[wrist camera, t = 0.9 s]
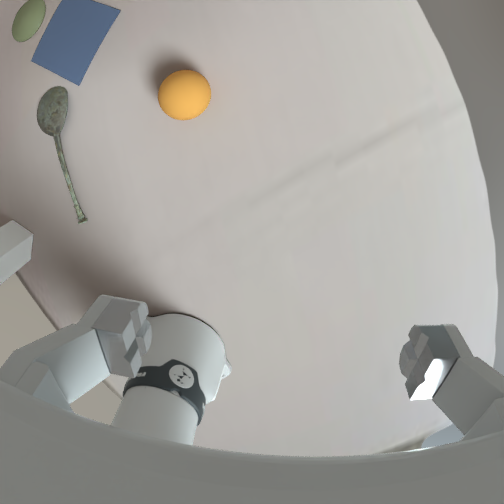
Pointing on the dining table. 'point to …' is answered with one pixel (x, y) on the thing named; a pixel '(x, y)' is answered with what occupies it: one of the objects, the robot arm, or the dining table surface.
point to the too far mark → (28, 20)
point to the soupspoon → (57, 130)
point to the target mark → (74, 37)
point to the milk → (14, 248)
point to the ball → (184, 94)
